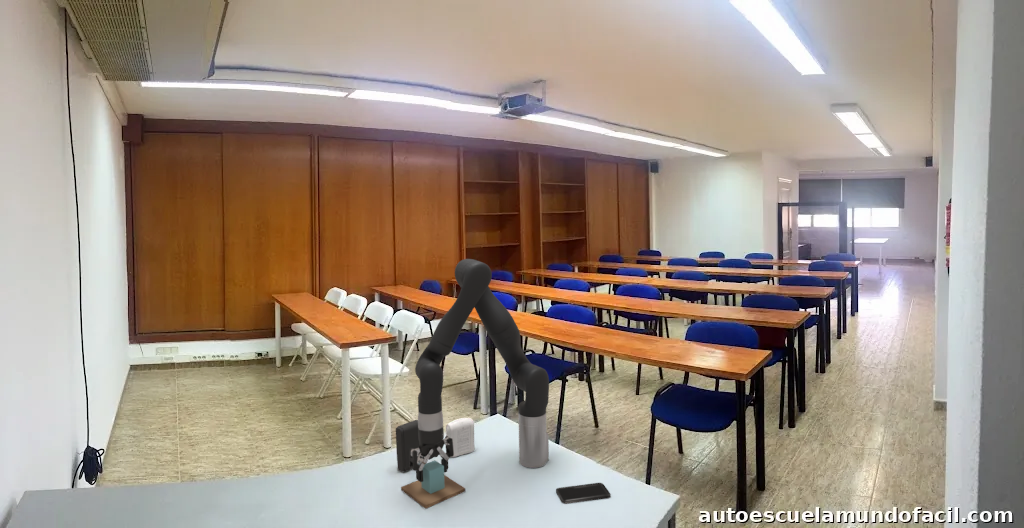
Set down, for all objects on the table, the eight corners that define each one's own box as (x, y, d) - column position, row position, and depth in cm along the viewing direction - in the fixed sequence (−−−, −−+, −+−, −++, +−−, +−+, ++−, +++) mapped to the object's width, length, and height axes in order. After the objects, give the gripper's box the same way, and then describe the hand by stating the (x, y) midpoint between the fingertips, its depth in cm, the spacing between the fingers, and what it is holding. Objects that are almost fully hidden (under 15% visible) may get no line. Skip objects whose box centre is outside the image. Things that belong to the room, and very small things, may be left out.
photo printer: (470, 447, 194) (469, 413, 193) (476, 451, 190) (475, 417, 189) (444, 454, 188) (443, 420, 187) (450, 459, 185) (449, 424, 183)
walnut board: (439, 474, 174) (439, 471, 174) (465, 491, 164) (465, 488, 164) (401, 490, 165) (401, 487, 165) (425, 508, 155) (425, 505, 154)
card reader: (419, 460, 185) (417, 417, 183) (426, 463, 182) (424, 420, 180) (396, 469, 178) (394, 426, 176) (403, 473, 175) (401, 429, 174)
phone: (611, 495, 159) (562, 501, 156) (611, 499, 159) (562, 505, 156) (601, 482, 166) (554, 487, 163) (601, 485, 166) (554, 491, 163)
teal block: (435, 481, 168) (434, 460, 167) (444, 488, 164) (443, 465, 163) (421, 487, 165) (420, 465, 164) (430, 493, 161) (429, 471, 160)
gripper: (443, 415, 170) (445, 464, 171) (403, 427, 160) (405, 479, 162) (457, 421, 164) (459, 472, 166) (416, 435, 155) (418, 489, 156)
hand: (432, 476), depth 164 cm, fingers open, 8 cm apart
